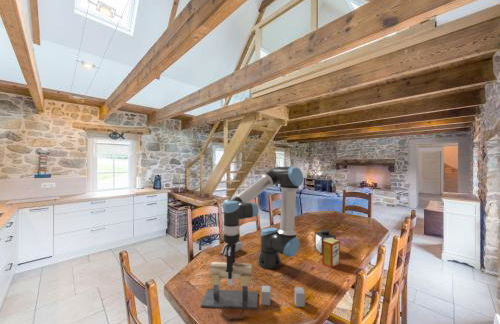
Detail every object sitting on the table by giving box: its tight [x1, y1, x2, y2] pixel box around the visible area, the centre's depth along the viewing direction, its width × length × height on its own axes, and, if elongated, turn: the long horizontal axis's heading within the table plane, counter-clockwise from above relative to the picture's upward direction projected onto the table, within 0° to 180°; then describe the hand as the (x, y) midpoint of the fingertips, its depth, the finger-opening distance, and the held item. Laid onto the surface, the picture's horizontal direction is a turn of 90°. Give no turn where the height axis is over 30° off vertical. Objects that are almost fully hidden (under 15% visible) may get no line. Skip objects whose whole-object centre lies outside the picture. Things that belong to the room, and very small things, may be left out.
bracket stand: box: [200, 274, 259, 311], centre depth 101 cm, size 12×26×14 cm, turn 86°
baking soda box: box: [322, 238, 341, 269], centre depth 138 cm, size 10×6×16 cm
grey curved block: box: [220, 239, 243, 257], centre depth 156 cm, size 17×5×10 cm, turn 132°
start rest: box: [261, 285, 306, 308], centre depth 99 cm, size 5×20×6 cm, turn 86°
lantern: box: [314, 214, 337, 256], centre depth 159 cm, size 11×11×28 cm
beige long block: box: [209, 261, 253, 280], centre depth 101 cm, size 4×20×6 cm, turn 86°
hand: (230, 281), depth 101 cm, fingers closed on beige long block, 4 cm apart
